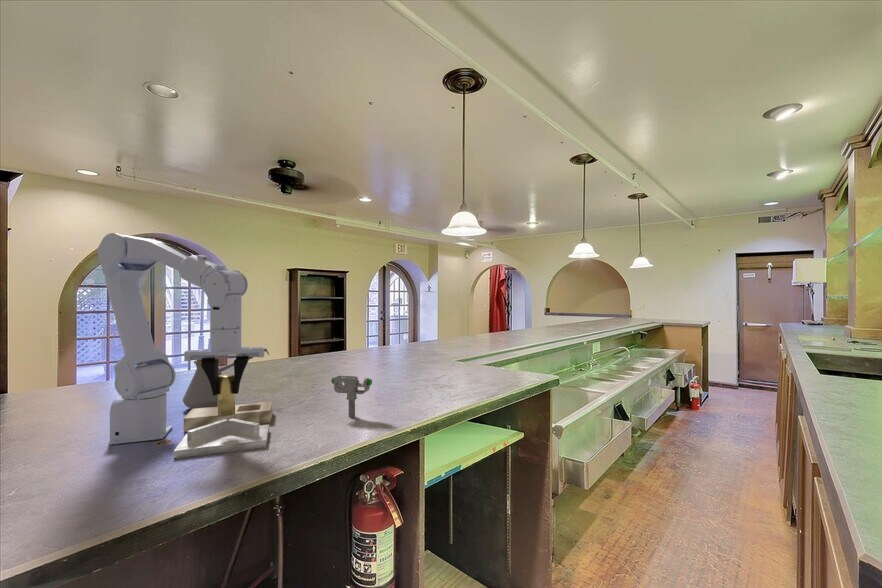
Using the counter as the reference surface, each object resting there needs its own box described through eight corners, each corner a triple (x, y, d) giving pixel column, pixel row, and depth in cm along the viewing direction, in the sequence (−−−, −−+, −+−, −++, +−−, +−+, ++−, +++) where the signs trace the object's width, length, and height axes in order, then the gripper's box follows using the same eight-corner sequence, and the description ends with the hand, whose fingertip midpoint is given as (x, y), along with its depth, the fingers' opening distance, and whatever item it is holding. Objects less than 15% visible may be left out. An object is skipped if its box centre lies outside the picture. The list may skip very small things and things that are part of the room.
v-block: (173, 458, 75) (173, 437, 75) (187, 440, 84) (187, 421, 84) (266, 447, 80) (266, 427, 80) (269, 431, 90) (269, 413, 89)
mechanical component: (368, 419, 97) (368, 379, 97) (330, 417, 99) (330, 377, 99) (372, 416, 100) (373, 377, 100) (335, 413, 102) (335, 375, 102)
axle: (216, 417, 81) (215, 378, 80) (219, 411, 84) (219, 374, 83) (233, 415, 82) (233, 377, 81) (236, 410, 85) (236, 373, 84)
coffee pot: (182, 416, 100) (182, 357, 100) (182, 405, 110) (182, 351, 110) (272, 403, 112) (272, 350, 112) (265, 394, 121) (265, 346, 121)
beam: (183, 431, 89) (183, 418, 89) (192, 421, 96) (192, 408, 96) (270, 422, 95) (270, 410, 95) (272, 413, 103) (272, 401, 103)
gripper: (180, 331, 76) (180, 401, 76) (262, 328, 81) (262, 395, 81) (189, 328, 82) (189, 393, 82) (265, 326, 87) (265, 387, 87)
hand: (226, 393), depth 82 cm, fingers closed on axle, 3 cm apart
